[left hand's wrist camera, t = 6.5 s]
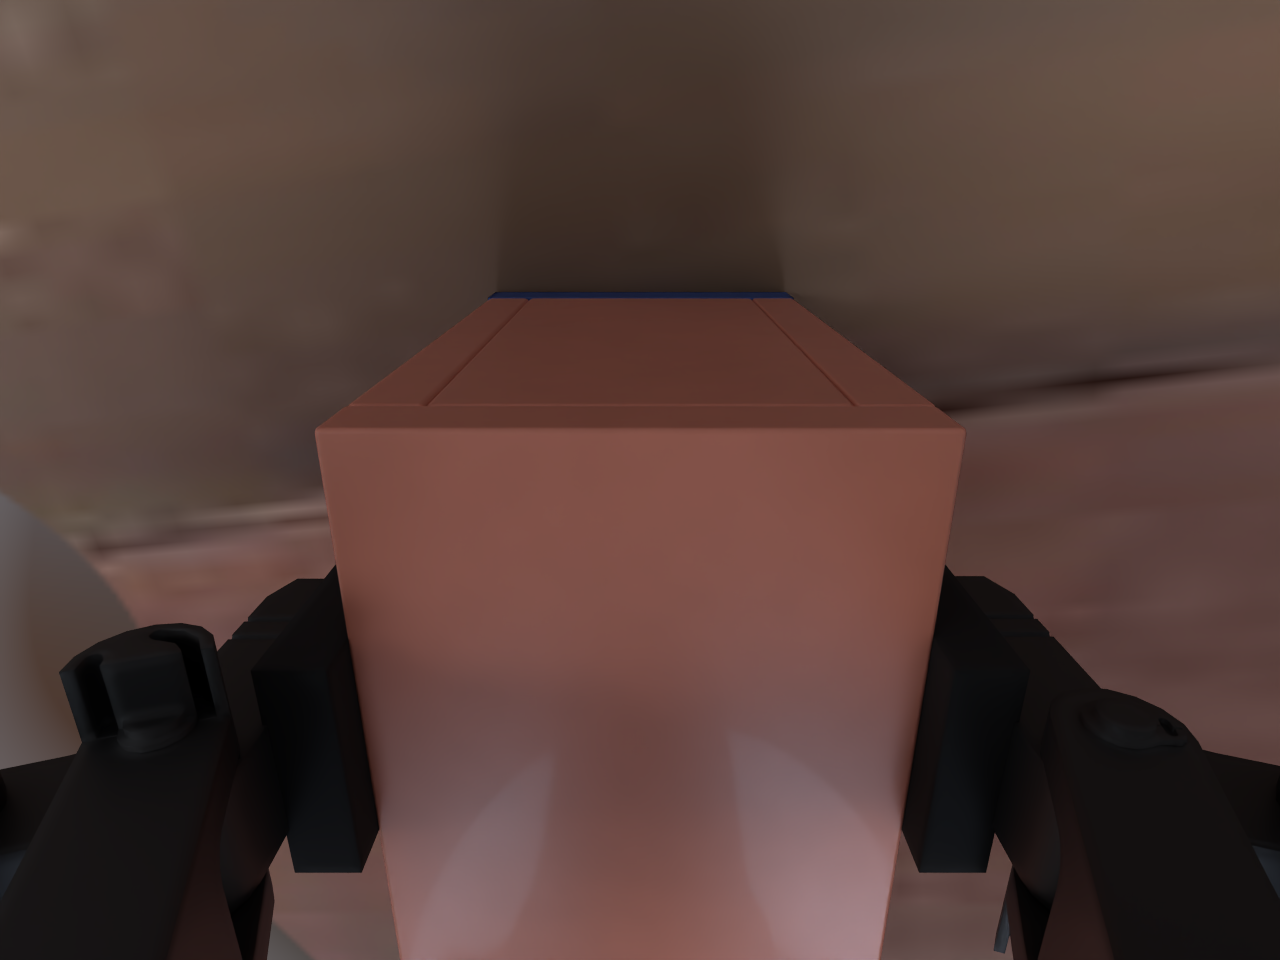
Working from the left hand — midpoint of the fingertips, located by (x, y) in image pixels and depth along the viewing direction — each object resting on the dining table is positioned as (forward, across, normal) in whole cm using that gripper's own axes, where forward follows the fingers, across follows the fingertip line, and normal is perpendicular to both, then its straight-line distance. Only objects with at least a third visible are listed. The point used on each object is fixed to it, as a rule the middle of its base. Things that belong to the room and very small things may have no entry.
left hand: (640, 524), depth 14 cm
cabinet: (+4, 0, -4) cm, 6 cm away
